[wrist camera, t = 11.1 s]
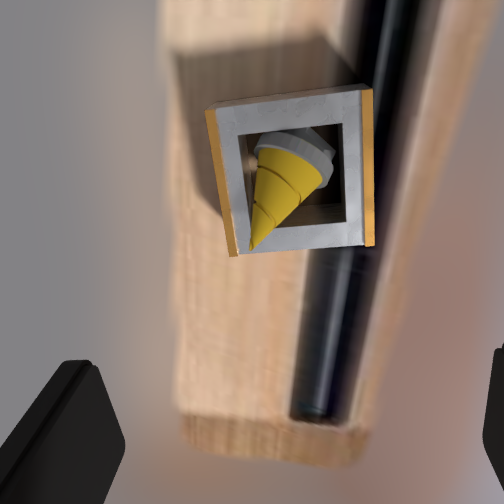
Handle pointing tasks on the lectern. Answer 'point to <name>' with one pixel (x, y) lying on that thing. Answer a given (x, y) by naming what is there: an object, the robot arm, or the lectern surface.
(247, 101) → the block
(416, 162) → the lectern surface
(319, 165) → the drill bit
